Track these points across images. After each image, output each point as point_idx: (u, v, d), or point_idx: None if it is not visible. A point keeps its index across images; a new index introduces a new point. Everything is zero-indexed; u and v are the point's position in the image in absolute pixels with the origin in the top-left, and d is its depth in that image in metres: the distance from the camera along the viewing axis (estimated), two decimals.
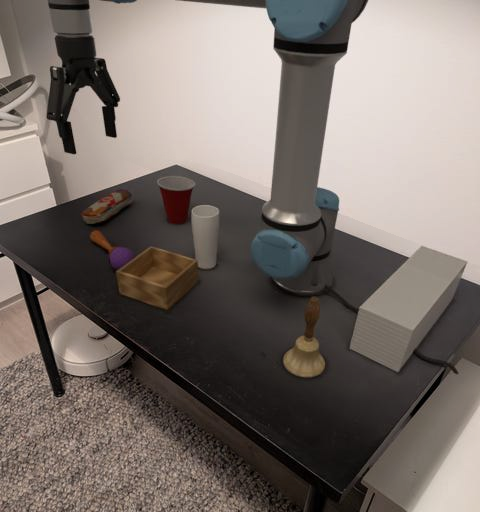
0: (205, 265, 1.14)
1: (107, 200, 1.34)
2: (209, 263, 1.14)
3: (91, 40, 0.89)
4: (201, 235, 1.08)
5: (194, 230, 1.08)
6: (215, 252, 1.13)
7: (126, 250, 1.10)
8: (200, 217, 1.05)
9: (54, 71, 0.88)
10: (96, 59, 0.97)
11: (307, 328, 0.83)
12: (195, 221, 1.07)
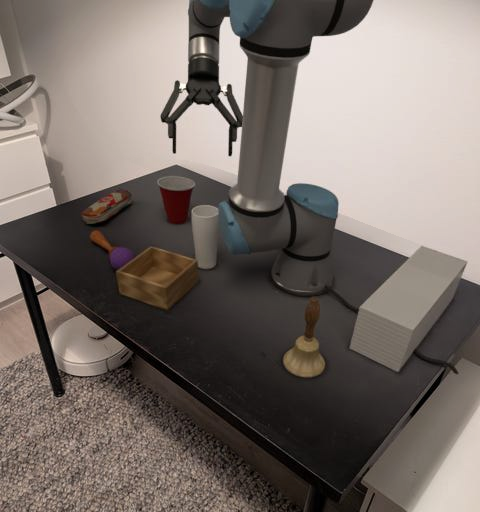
0: (205, 265, 1.14)
1: (107, 200, 1.34)
2: (209, 263, 1.14)
3: (206, 59, 1.06)
4: (201, 235, 1.08)
5: (194, 230, 1.08)
6: (215, 252, 1.13)
7: (126, 250, 1.10)
8: (200, 217, 1.05)
9: None
10: None
11: (307, 328, 0.83)
12: (195, 221, 1.07)
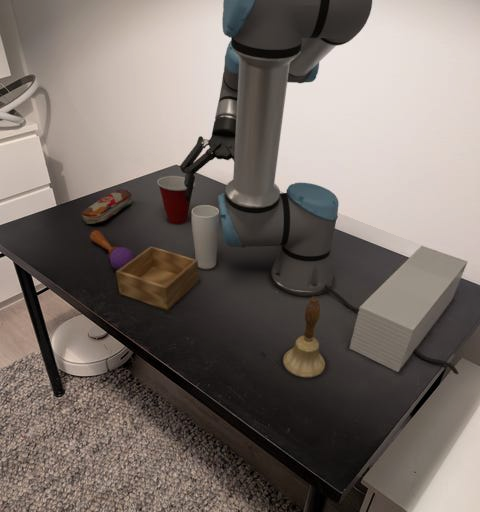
0: (205, 265, 1.14)
1: (107, 200, 1.34)
2: (209, 263, 1.14)
3: (228, 118, 1.12)
4: (201, 235, 1.08)
5: (194, 230, 1.08)
6: (215, 252, 1.13)
7: (126, 250, 1.10)
8: (200, 217, 1.05)
9: None
10: None
11: (307, 328, 0.83)
12: (195, 221, 1.07)
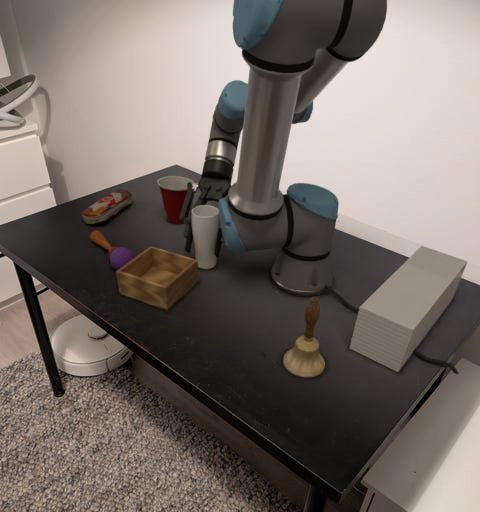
0: (205, 265, 1.14)
1: (107, 200, 1.34)
2: (209, 263, 1.14)
3: (218, 160, 1.09)
4: (201, 235, 1.08)
5: (194, 230, 1.08)
6: None
7: (126, 250, 1.10)
8: (200, 217, 1.05)
9: None
10: None
11: (307, 328, 0.83)
12: (195, 221, 1.07)
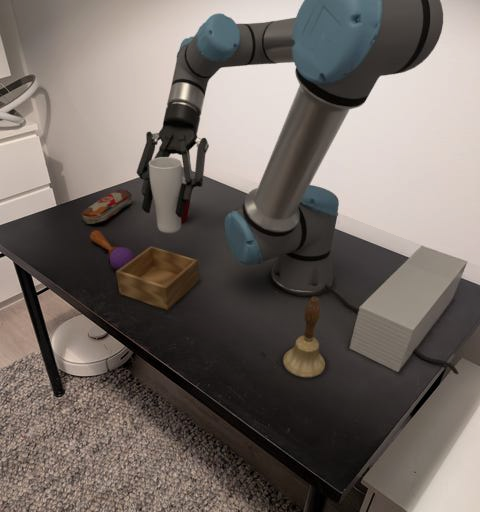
0: (167, 228, 0.99)
1: (107, 200, 1.34)
2: (171, 226, 0.99)
3: (181, 105, 0.95)
4: (160, 191, 0.93)
5: (152, 185, 0.94)
6: None
7: (126, 250, 1.10)
8: (158, 168, 0.91)
9: None
10: None
11: (307, 328, 0.83)
12: (153, 174, 0.92)
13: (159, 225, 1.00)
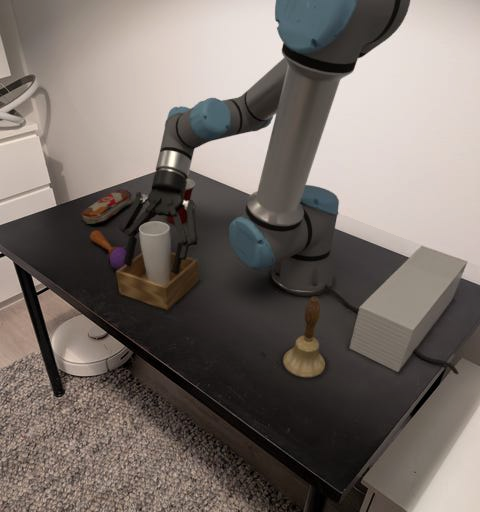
0: None
1: (107, 200, 1.34)
2: (161, 284, 1.05)
3: (169, 172, 1.00)
4: (150, 254, 0.99)
5: (142, 249, 1.00)
6: (168, 272, 1.04)
7: None
8: (147, 235, 0.96)
9: None
10: None
11: (307, 328, 0.83)
12: (143, 239, 0.98)
13: None
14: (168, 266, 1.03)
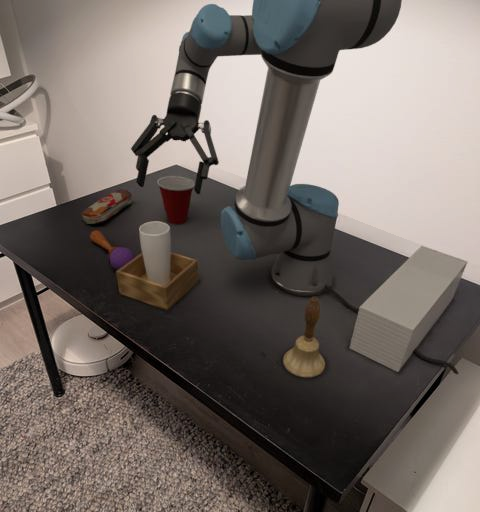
0: None
1: (107, 200, 1.34)
2: (161, 284, 1.05)
3: (184, 94, 1.01)
4: (150, 254, 0.99)
5: (142, 249, 0.99)
6: (168, 272, 1.04)
7: (126, 250, 1.10)
8: (147, 235, 0.96)
9: None
10: None
11: (307, 328, 0.83)
12: (143, 239, 0.98)
13: None
14: (168, 266, 1.03)
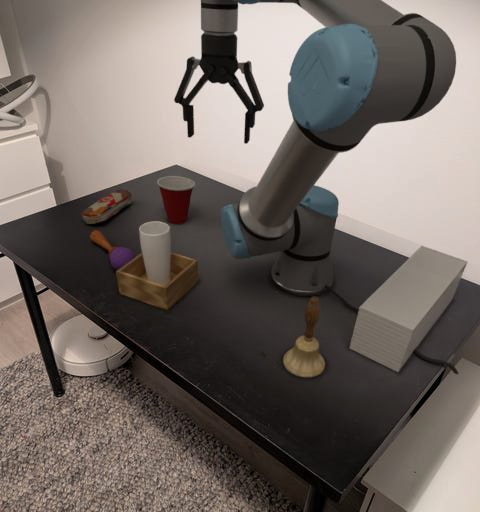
0: None
1: (107, 200, 1.34)
2: (161, 284, 1.05)
3: (217, 39, 0.91)
4: (150, 254, 0.99)
5: (142, 249, 0.99)
6: (168, 272, 1.04)
7: (126, 250, 1.10)
8: (147, 235, 0.96)
9: None
10: (244, 62, 0.96)
11: (307, 328, 0.83)
12: (143, 239, 0.98)
13: None
14: (168, 266, 1.03)
